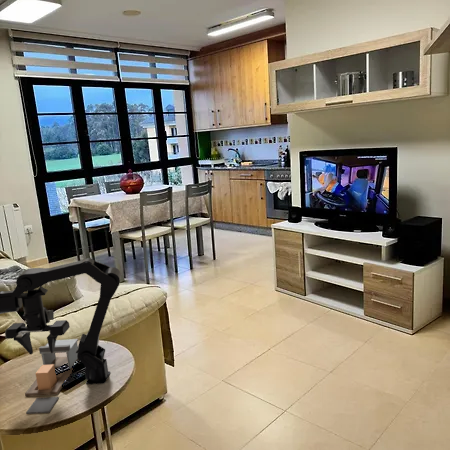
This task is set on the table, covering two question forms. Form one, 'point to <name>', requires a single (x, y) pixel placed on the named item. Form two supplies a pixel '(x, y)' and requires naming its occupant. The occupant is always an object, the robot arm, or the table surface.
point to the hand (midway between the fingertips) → (42, 353)
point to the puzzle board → (61, 378)
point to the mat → (42, 405)
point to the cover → (60, 351)
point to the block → (46, 377)
